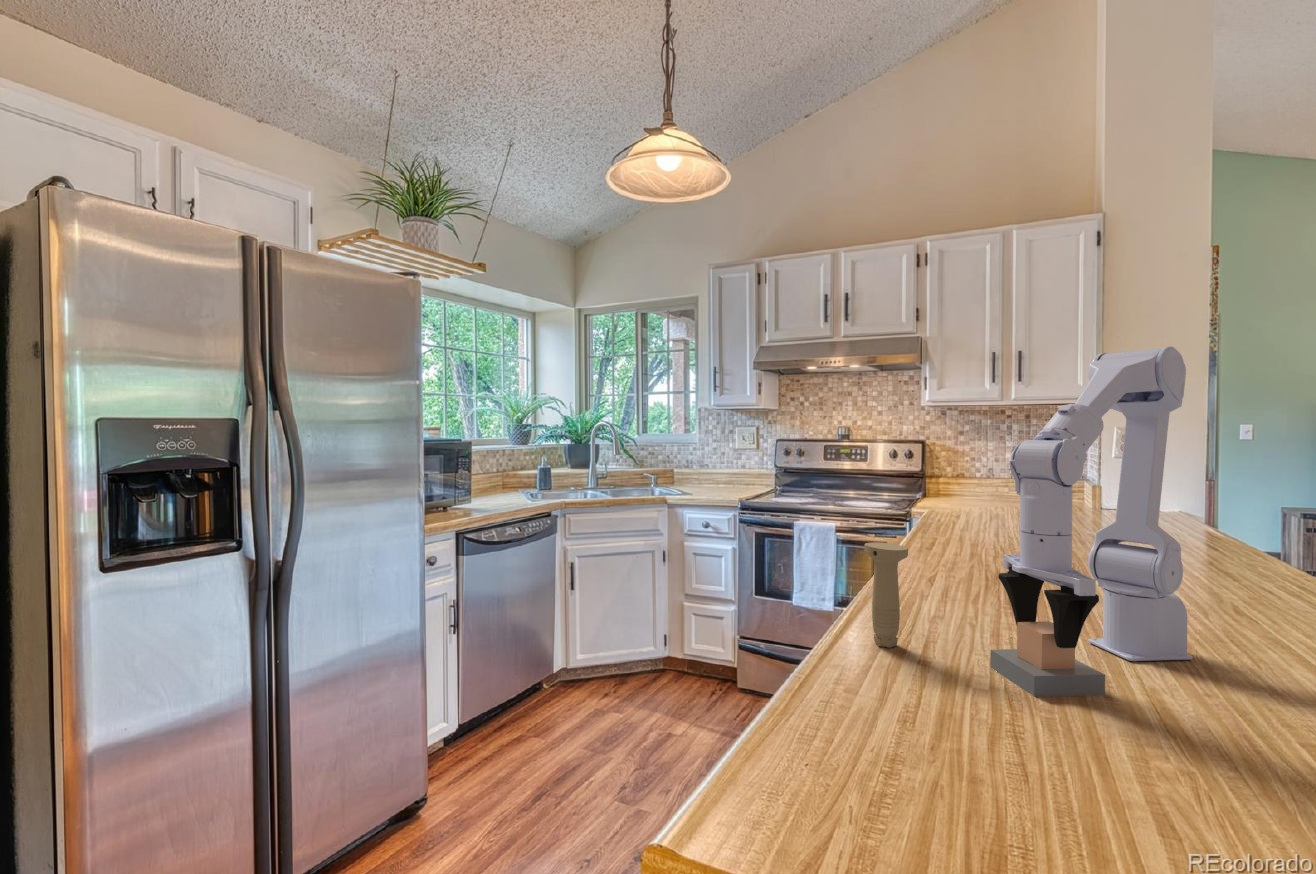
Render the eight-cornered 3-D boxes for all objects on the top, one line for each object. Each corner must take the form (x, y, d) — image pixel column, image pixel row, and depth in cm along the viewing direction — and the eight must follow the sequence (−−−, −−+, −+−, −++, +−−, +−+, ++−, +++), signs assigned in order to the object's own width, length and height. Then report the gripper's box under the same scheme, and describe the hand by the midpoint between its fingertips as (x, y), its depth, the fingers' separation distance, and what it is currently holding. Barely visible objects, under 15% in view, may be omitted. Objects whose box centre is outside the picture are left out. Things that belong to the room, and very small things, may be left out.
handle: (892, 654, 88) (892, 551, 88) (857, 641, 94) (857, 544, 94) (914, 648, 91) (914, 548, 90) (879, 635, 96) (879, 541, 96)
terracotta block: (1048, 654, 81) (1049, 621, 81) (1074, 668, 77) (1075, 633, 77) (1016, 655, 81) (1017, 622, 81) (1041, 669, 76) (1042, 634, 76)
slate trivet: (1053, 670, 84) (1054, 648, 84) (1104, 698, 75) (1105, 674, 75) (990, 671, 83) (990, 649, 83) (1034, 700, 74) (1034, 676, 74)
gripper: (982, 523, 86) (982, 619, 86) (1055, 543, 71) (1054, 658, 72) (1030, 523, 86) (1030, 618, 86) (1113, 542, 72) (1112, 656, 72)
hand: (1044, 636), depth 79 cm, fingers open, 7 cm apart
